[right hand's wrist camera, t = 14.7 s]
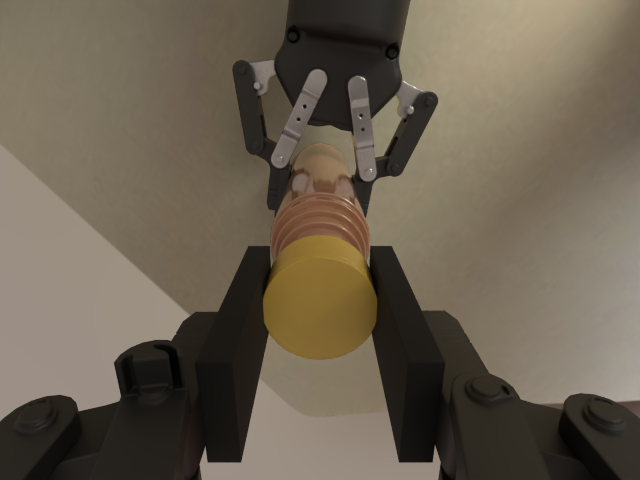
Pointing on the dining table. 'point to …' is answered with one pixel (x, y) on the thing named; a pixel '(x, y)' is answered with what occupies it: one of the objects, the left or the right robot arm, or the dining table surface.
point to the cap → (320, 298)
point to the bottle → (320, 202)
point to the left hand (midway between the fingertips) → (315, 220)
